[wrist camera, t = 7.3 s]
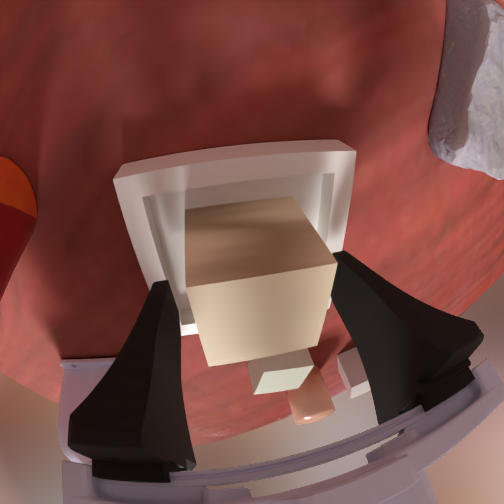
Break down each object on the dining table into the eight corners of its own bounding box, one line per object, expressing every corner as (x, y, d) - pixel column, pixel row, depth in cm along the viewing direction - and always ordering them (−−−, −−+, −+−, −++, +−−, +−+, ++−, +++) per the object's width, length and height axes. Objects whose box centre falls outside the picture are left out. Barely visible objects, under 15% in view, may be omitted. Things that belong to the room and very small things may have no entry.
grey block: (337, 369, 28) (350, 399, 25) (336, 354, 25) (351, 387, 22) (369, 355, 28) (384, 383, 25) (372, 338, 25) (389, 370, 22)
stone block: (492, 42, 10) (436, -22, 6) (540, 62, 6) (508, -9, 3) (466, 160, 17) (407, 145, 13) (509, 190, 14) (473, 185, 10)
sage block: (246, 365, 23) (253, 394, 21) (255, 339, 21) (263, 372, 18) (289, 360, 24) (298, 388, 22) (302, 335, 22) (314, 365, 19)
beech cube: (200, 288, 15) (208, 366, 11) (184, 209, 12) (185, 287, 8) (286, 274, 16) (317, 345, 12) (291, 196, 13) (337, 262, 9)
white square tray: (169, 314, 17) (169, 337, 16) (122, 164, 11) (112, 179, 9) (319, 288, 18) (329, 308, 17) (337, 139, 12) (356, 150, 11)
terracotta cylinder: (281, 387, 27) (293, 427, 23) (283, 371, 25) (297, 416, 21) (316, 378, 28) (330, 416, 24) (322, 361, 25) (339, 404, 22)
